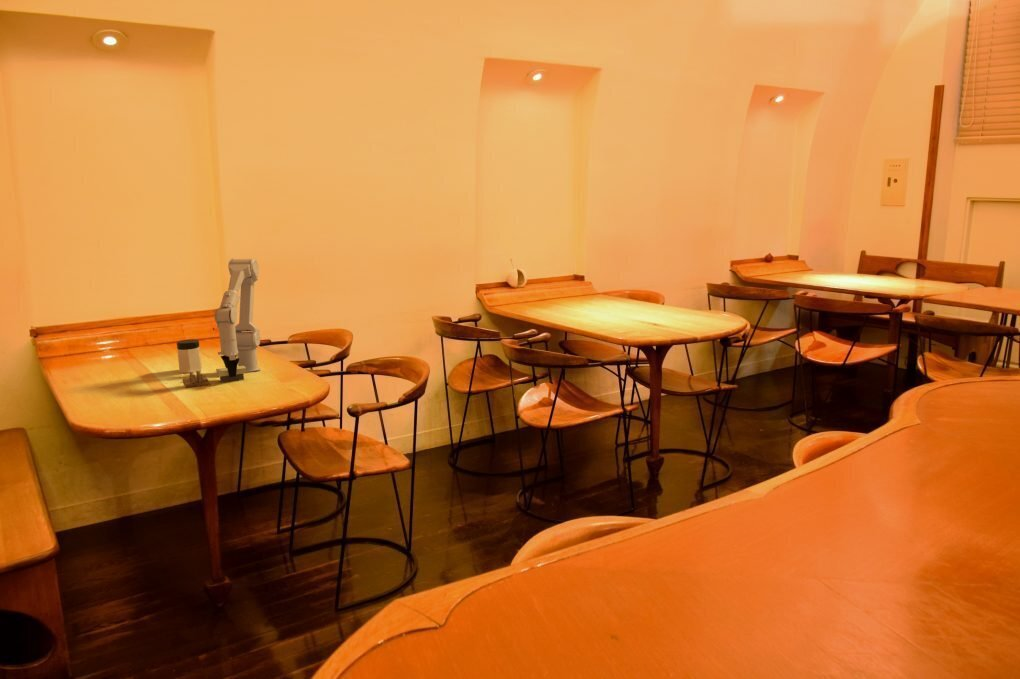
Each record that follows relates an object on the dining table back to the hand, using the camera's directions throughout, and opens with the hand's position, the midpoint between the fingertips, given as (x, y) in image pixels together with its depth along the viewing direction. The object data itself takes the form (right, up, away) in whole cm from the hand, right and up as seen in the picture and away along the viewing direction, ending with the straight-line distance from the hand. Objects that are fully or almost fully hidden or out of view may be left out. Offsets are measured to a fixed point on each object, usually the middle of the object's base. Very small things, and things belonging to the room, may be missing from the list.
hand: (231, 375), depth 276 cm
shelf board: (0, +1, 0) cm, 1 cm away
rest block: (0, -2, 0) cm, 2 cm away
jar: (-22, +1, +16) cm, 28 cm away
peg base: (-12, -3, -2) cm, 13 cm away
